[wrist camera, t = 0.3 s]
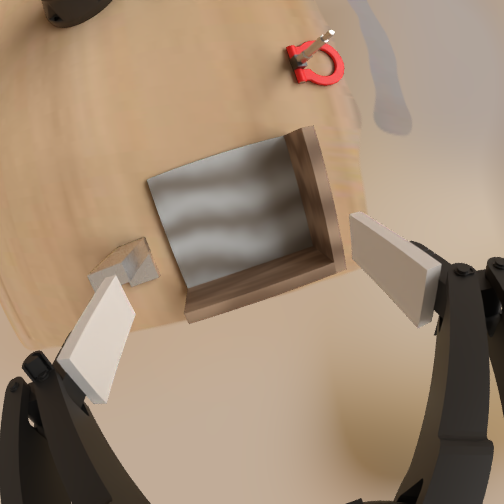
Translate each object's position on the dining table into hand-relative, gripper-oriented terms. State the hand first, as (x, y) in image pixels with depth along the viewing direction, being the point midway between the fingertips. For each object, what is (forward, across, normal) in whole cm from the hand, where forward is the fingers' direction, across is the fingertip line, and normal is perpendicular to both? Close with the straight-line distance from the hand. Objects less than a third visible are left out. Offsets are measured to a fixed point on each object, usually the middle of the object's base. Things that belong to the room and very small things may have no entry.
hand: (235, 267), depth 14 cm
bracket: (+25, -16, -7) cm, 30 cm away
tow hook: (+30, +19, +16) cm, 39 cm away
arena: (+26, +1, -5) cm, 27 cm away
